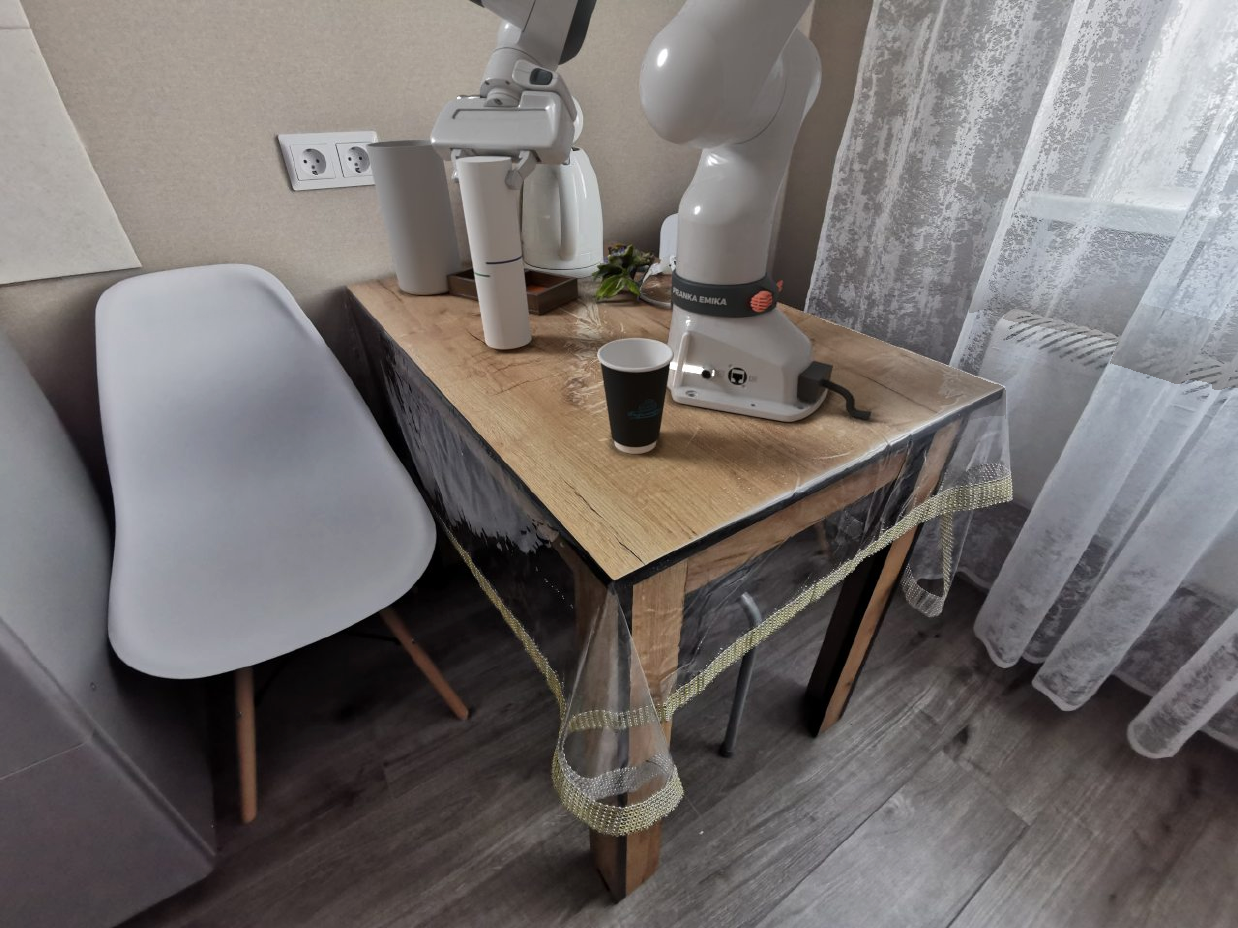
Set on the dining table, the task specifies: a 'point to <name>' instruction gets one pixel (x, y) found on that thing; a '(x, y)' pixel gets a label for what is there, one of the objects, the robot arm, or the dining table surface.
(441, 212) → the cylinder vase
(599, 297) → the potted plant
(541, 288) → the tray
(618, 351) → the dixie cup
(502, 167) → the cylindrical container
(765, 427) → the dining table surface
